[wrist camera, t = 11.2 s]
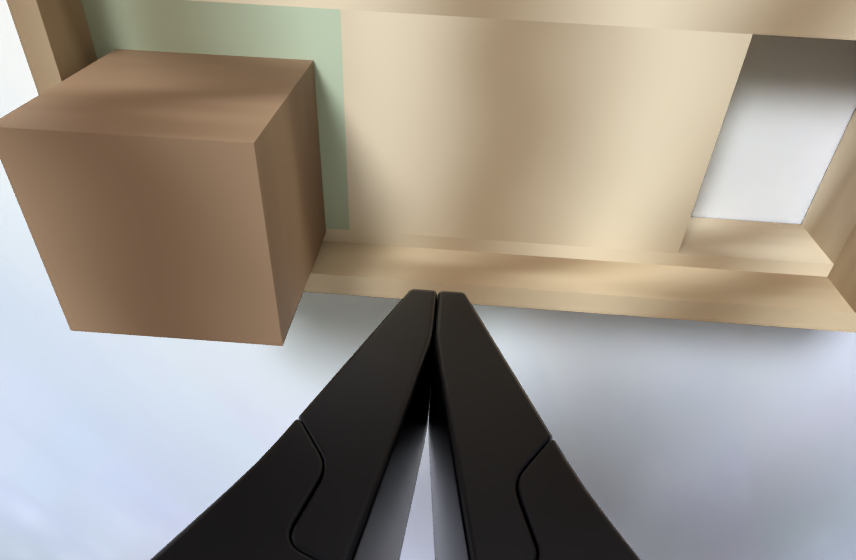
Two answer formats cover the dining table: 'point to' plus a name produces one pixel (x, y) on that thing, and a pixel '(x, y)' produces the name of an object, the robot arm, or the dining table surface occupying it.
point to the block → (174, 193)
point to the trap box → (520, 145)
